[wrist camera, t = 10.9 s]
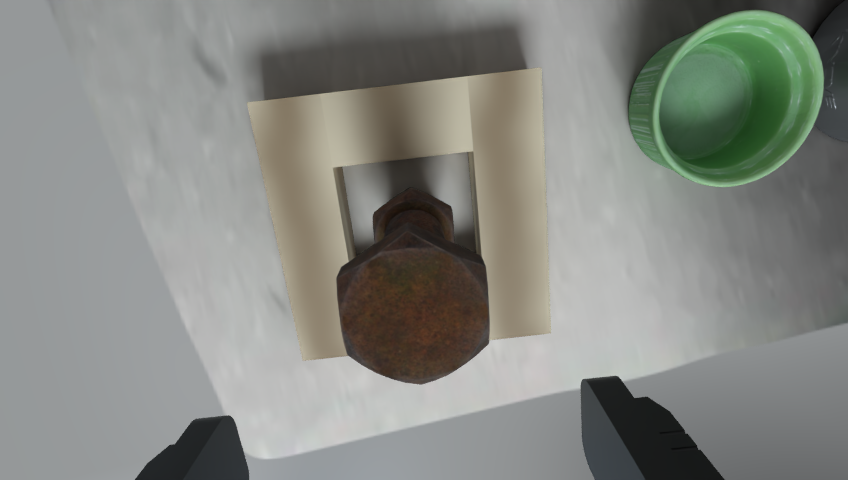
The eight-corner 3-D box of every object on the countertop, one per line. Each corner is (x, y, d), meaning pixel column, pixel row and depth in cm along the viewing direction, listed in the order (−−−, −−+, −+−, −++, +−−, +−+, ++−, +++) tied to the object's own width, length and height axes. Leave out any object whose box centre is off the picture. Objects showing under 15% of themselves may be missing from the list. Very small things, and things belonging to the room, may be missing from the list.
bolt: (370, 173, 29) (328, 240, 14) (449, 167, 29) (486, 227, 14) (380, 259, 30) (350, 397, 16) (455, 253, 30) (492, 386, 16)
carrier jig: (528, 71, 27) (541, 67, 24) (538, 312, 32) (551, 333, 29) (264, 102, 27) (246, 102, 24) (312, 337, 32) (303, 360, 29)
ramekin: (783, 127, 28) (847, 130, 24) (653, 201, 30) (692, 217, 26) (732, -8, 26) (793, -30, 22) (593, 79, 27) (625, 74, 23)
